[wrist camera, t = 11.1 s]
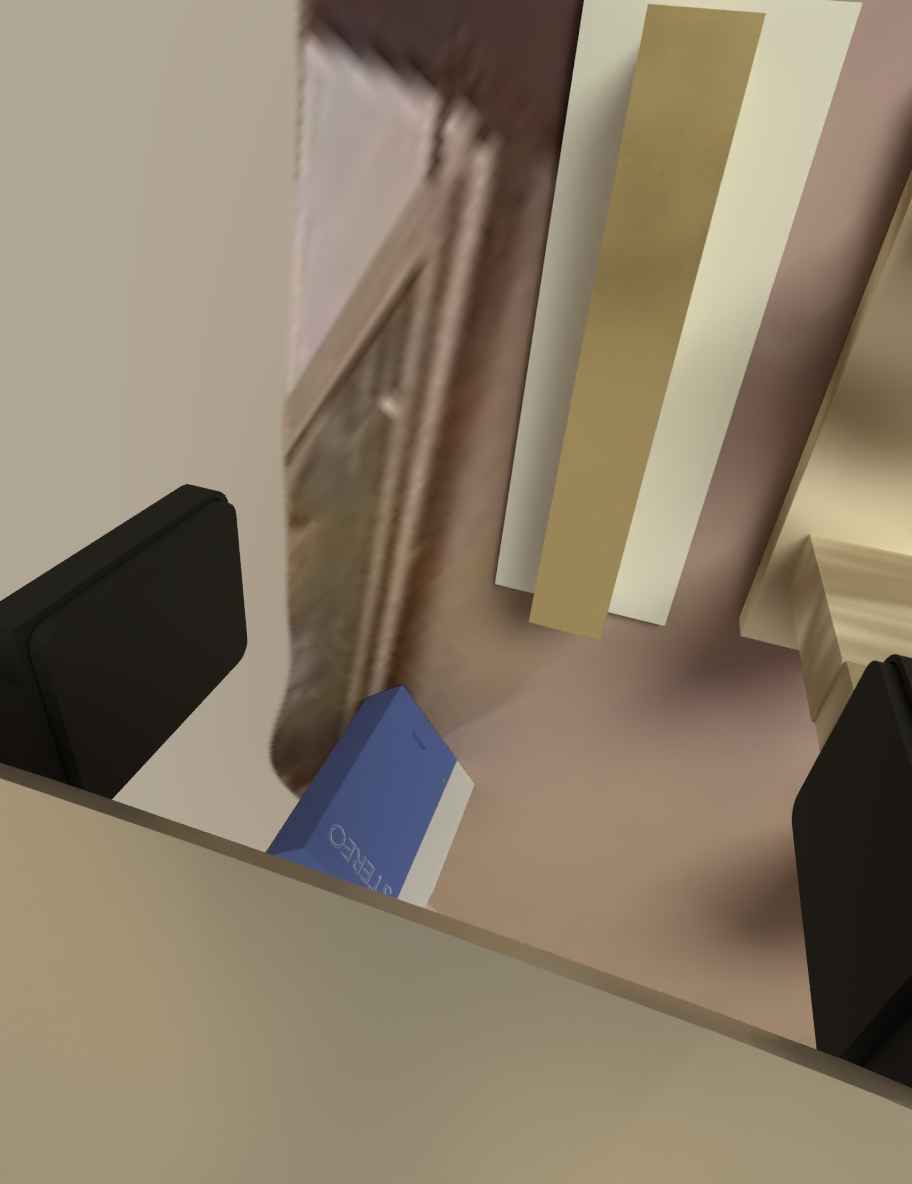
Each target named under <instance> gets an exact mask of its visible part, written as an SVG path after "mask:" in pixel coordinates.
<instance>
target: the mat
mask: <svg viewBox="0 0 912 1184" xmlns="http://www.w3.org/2000/svg"><path fill="white" fill-rule="evenodd" d="M648 4H656V5H669V6H681V7H694V8H707V9H719V10H732V11H745V12H757V13H766V15H765V19H764V23H763V27H762V31H761V34H760V38H759V42H758V46H757V49H756V53H755V57H754V61H753V65H752V68H751V72H750V76H749V80H748V83H747V87H746V91H745V95H744V99H743V102H742V106H741V110H740V114H739V118H738V121H737V125H736V129H735V133H734V136H733V140H732V144H731V148H730V152H729V155H728V159H727V163H726V167H725V171H724V174H723V178H722V182H721V186H720V189H719V193H718V197H717V201H716V205H715V208H714V212H713V216H712V220H711V224H710V227H709V231H708V235H707V239H706V242H705V246H704V250H703V254H702V258H701V261H700V265H699V269H698V273H697V276H696V280H695V284H694V288H693V292H692V295H691V299H690V303H689V307H688V311H687V314H686V318H685V322H684V326H683V329H682V333H681V337H680V341H679V345H678V348H677V352H676V356H675V360H674V364H673V367H672V371H671V375H670V379H669V382H668V386H667V390H666V394H665V398H664V401H663V405H662V409H661V413H660V416H659V420H658V424H657V428H656V432H655V435H654V439H653V443H652V447H651V451H650V454H649V458H648V462H647V466H646V469H645V473H644V477H643V481H642V485H641V488H640V492H639V496H638V500H637V504H636V507H635V511H634V515H633V519H632V522H631V526H630V530H629V534H628V538H627V541H626V545H625V549H624V553H623V557H622V560H621V564H620V568H619V572H618V575H617V579H616V583H615V587H614V591H613V594H612V598H611V602H610V606H609V609H608V612H610V613H614V614H618V615H622V616H626V617H630V618H634V619H638V620H642V621H646V622H650V623H654V624H658V625H662V626H665V623H666V620H667V617H668V614H669V611H670V607H671V604H672V601H673V598H674V595H675V592H676V589H677V585H678V582H679V579H680V576H681V573H682V570H683V567H684V563H685V560H686V557H687V554H688V551H689V548H690V544H691V541H692V538H693V535H694V532H695V529H696V526H697V522H698V519H699V516H700V513H701V510H702V507H703V504H704V500H705V497H706V494H707V491H708V488H709V485H710V481H711V478H712V475H713V472H714V469H715V466H716V463H717V459H718V456H719V453H720V450H721V447H722V444H723V441H724V437H725V434H726V431H727V428H728V425H729V422H730V418H731V415H732V412H733V409H734V406H735V403H736V400H737V396H738V393H739V390H740V387H741V384H742V381H743V377H744V374H745V371H746V368H747V365H748V362H749V359H750V355H751V352H752V349H753V346H754V343H755V340H756V337H757V333H758V330H759V327H760V324H761V321H762V318H763V314H764V311H765V308H766V305H767V302H768V299H769V296H770V292H771V289H772V286H773V283H774V280H775V277H776V274H777V270H778V267H779V264H780V261H781V258H782V255H783V251H784V248H785V245H786V242H787V239H788V236H789V233H790V229H791V226H792V223H793V220H794V217H795V214H796V210H797V207H798V204H799V201H800V198H801V195H802V192H803V188H804V185H805V182H806V179H807V176H808V173H809V170H810V166H811V163H812V160H813V157H814V154H815V151H816V147H817V144H818V141H819V138H820V135H821V132H822V129H823V125H824V122H825V119H826V116H827V113H828V110H829V107H830V103H831V100H832V97H833V94H834V91H835V88H836V84H837V81H838V78H839V75H840V72H841V69H842V66H843V62H844V59H845V56H846V53H847V50H848V47H849V43H850V40H851V37H852V34H853V31H854V28H855V25H856V21H857V18H858V15H859V12H860V9H861V6H862V3H856V2H842V1H828V0H584V5H583V11H582V18H581V24H580V31H579V37H578V44H577V50H576V57H575V64H574V70H573V77H572V83H571V90H570V96H569V103H568V109H567V116H566V122H565V129H564V136H563V142H562V149H561V155H560V162H559V168H558V175H557V181H556V188H555V194H554V201H553V208H552V214H551V221H550V227H549V234H548V240H547V247H546V253H545V260H544V266H543V273H542V280H541V286H540V293H539V299H538V306H537V312H536V319H535V325H534V332H533V338H532V345H531V351H530V358H529V365H528V371H527V378H526V384H525V391H524V397H523V404H522V410H521V417H520V423H519V430H518V437H517V443H516V450H515V456H514V463H513V469H512V476H511V482H510V489H509V495H508V502H507V509H506V515H505V522H504V528H503V535H502V541H501V548H500V554H499V561H498V567H497V574H496V581H495V584H497V585H501V586H505V587H509V588H513V589H517V590H521V591H526V592H530V593H534V592H535V587H536V581H537V576H538V571H539V566H540V561H541V556H542V550H543V545H544V540H545V535H546V530H547V524H548V519H549V514H550V509H551V504H552V498H553V493H554V488H555V483H556V478H557V473H558V467H559V462H560V457H561V452H562V447H563V441H564V436H565V431H566V426H567V421H568V416H569V410H570V405H571V400H572V395H573V390H574V384H575V379H576V374H577V369H578V364H579V359H580V353H581V348H582V343H583V338H584V333H585V327H586V322H587V317H588V312H589V307H590V301H591V296H592V291H593V286H594V281H595V276H596V270H597V265H598V260H599V255H600V250H601V244H602V239H603V234H604V229H605V224H606V219H607V213H608V208H609V203H610V198H611V193H612V187H613V182H614V177H615V172H616V167H617V161H618V156H619V151H620V146H621V141H622V136H623V130H624V125H625V120H626V115H627V110H628V104H629V99H630V94H631V89H632V84H633V79H634V73H635V68H636V63H637V58H638V53H639V47H640V42H641V37H642V32H643V27H644V22H645V16H646V11H647V6H648Z"/></svg>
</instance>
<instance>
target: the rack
mask: <svg viewBox="0 0 912 1184" xmlns="http://www.w3.org/2000/svg"><path fill="white" fill-rule="evenodd" d="M739 621H740V636H743V637H747V638H751V639H755V640H759V641H763V642H767V643H771V644H775V645H779V646H783V647H787V648H791V649H795V650H799V653H800V659H801V664H802V670H803V676H804V681H805V687H806V693H807V698H808V704H809V710H810V715H811V721H812V722H815V725H816V730H817V736H818V741H819V747H820V752H821V750H822V748H823V747H824V745H825V743H826V741H827V739H828V737H829V735H830V734H831V732H832V730H833V728H834V726H835V724H836V722H837V721H838V719H839V717H840V715H841V713H842V711H843V709H844V708H845V706H846V704H847V702H848V700H849V698H850V696H851V695H852V693H853V691H854V689H855V687H856V685H857V683H858V682H859V680H860V678H861V676H862V674H863V672H864V670H865V669H866V667H867V666H868V664H869V663H870V662H871V661H874V660H876V661H880V662H884V661H885V660H886V659H887V658H888V657H889V656H890V655H892V654H898V655H902V656H906V657H910V658H912V169H911V172H910V175H909V177H908V180H907V182H906V185H905V188H904V190H903V193H902V195H901V198H900V201H899V203H898V206H897V208H896V211H895V214H894V216H893V219H892V221H891V224H890V227H889V229H888V232H887V234H886V237H885V240H884V242H883V245H882V247H881V250H880V253H879V255H878V258H877V260H876V263H875V266H874V268H873V271H872V273H871V276H870V279H869V281H868V284H867V286H866V289H865V292H864V294H863V297H862V299H861V302H860V305H859V307H858V310H857V312H856V315H855V318H854V320H853V323H852V326H851V328H850V331H849V333H848V336H847V339H846V341H845V344H844V346H843V349H842V352H841V354H840V357H839V359H838V362H837V365H836V367H835V370H834V372H833V375H832V378H831V380H830V383H829V385H828V388H827V391H826V393H825V396H824V398H823V401H822V404H821V406H820V409H819V411H818V414H817V417H816V419H815V422H814V424H813V427H812V430H811V432H810V435H809V437H808V440H807V443H806V445H805V448H804V450H803V453H802V456H801V458H800V461H799V463H798V466H797V469H796V471H795V474H794V476H793V479H792V482H791V484H790V487H789V490H788V492H787V495H786V497H785V500H784V503H783V505H782V508H781V510H780V513H779V516H778V518H777V521H776V523H775V526H774V529H773V531H772V534H771V536H770V539H769V542H768V544H767V547H766V549H765V552H764V555H763V557H762V560H761V562H760V565H759V568H758V570H757V573H756V575H755V578H754V581H753V583H752V586H751V588H750V591H749V594H748V596H747V599H746V601H745V604H744V607H743V609H742V612H741V614H740V617H739Z"/></svg>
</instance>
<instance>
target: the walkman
mask: <svg viewBox="0 0 912 1184" xmlns="http://www.w3.org/2000/svg"><path fill="white" fill-rule="evenodd" d="M473 787H474V783H473V782H472V780H471V779H470V777H469V776H468V775H467V773H466V772H465V770H464V769H463V768H462V766H461V765H460V763H459V762H458V761H457V760H456V758H455V757H454V756H453V754H452V753H451V751H450V750H449V749H448V747H447V746H446V745H445V743H444V742H443V740H442V739H441V738H440V736H439V735H438V733H437V732H436V731H435V729H434V728H433V726H432V725H431V724H430V722H429V721H428V720H427V718H426V717H425V715H424V714H423V713H422V711H421V710H420V708H419V707H418V706H417V704H416V703H415V702H414V700H413V699H412V697H411V696H410V695H409V693H408V692H407V690H406V689H405V688H404V686H403V685H400V686H397V687H394V688H391V689H389V690H386V691H383V692H381V693H378V694H375V695H372V696H370V697H367V698H366V700H365V701H364V703H363V704H362V706H361V707H360V709H359V710H358V712H357V713H356V715H355V716H354V718H353V719H352V721H351V723H350V724H349V726H348V727H347V729H346V730H345V732H344V733H343V735H342V736H341V738H340V739H339V741H338V742H337V744H336V745H335V747H334V749H333V750H332V752H331V753H330V755H329V756H328V758H327V759H326V761H325V762H324V764H323V765H322V767H321V768H320V770H319V772H318V773H317V775H316V776H315V778H314V779H313V781H312V782H311V784H310V785H309V787H308V788H307V790H306V791H305V793H304V794H303V796H302V798H301V799H300V801H299V802H298V804H297V805H296V807H295V808H294V810H293V811H292V813H291V814H290V816H289V817H288V819H287V821H286V822H285V824H284V825H283V827H282V828H281V830H280V831H279V833H278V834H277V836H276V837H275V839H274V840H273V842H272V844H271V845H270V847H269V848H268V850H267V851H266V853H268V854H271V855H273V856H276V857H279V858H282V859H285V860H288V861H291V862H294V863H296V864H299V865H302V866H305V867H308V868H311V869H314V870H316V871H319V872H322V873H325V874H328V875H331V876H334V877H337V878H339V879H342V880H345V881H348V882H351V883H354V884H357V885H359V886H362V887H365V888H368V889H371V890H374V891H377V892H379V893H382V894H385V895H388V896H391V897H394V898H397V899H399V900H402V901H405V902H408V903H411V904H414V905H417V906H419V907H422V908H425V907H426V904H427V902H428V899H429V897H430V895H432V893H433V890H434V888H435V885H436V882H437V880H438V877H439V875H440V872H441V870H442V867H443V864H444V862H445V859H446V857H447V854H448V851H449V849H450V846H451V844H452V841H453V839H454V836H455V833H456V831H457V828H458V826H459V823H460V820H461V818H462V815H463V813H464V810H465V808H466V805H467V802H468V800H469V797H470V795H471V792H472V790H473Z"/></svg>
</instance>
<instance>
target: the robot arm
mask: <svg viewBox="0 0 912 1184" xmlns="http://www.w3.org/2000/svg"><path fill="white" fill-rule="evenodd" d="M246 646H247V631H246V619H245V608H244V596H243V585H242V574H241V563H240V552H239V539H238V528H237V517H236V511H235V508H234V506H233V505H232V504H230V503H228V500H227V498H226V496H225V495H224V494H223V493H222V492H219V491H215V490H211V489H207V488H202V487H198V486H194V485H188V484H186V485H183V486H181V487H179V488H178V489H176V490H174V491H173V492H171V493H170V494H168V495H167V496H165V497H163V498H162V499H160V500H159V501H157V502H156V503H154V504H153V505H151V506H149V507H148V508H146V509H145V510H143V511H141V512H140V513H138V514H137V515H135V516H134V517H132V518H130V519H129V520H127V521H126V522H124V523H123V524H121V525H120V526H118V527H116V528H115V529H113V530H112V531H110V532H109V533H107V534H105V535H104V536H102V537H101V538H99V539H97V540H96V541H94V542H93V543H91V544H90V545H88V546H86V547H85V548H83V549H82V550H80V551H79V552H77V553H76V554H74V555H72V556H71V557H69V558H68V559H66V560H64V561H63V562H61V563H60V564H58V565H57V566H55V567H53V568H52V569H50V570H49V571H47V572H46V573H44V574H42V575H41V576H39V577H38V578H36V579H35V580H33V581H31V582H30V583H28V584H27V585H25V586H24V587H22V588H20V589H19V590H17V591H16V592H14V593H12V594H11V595H9V596H8V597H6V598H5V599H3V600H1V601H0V1184H912V658H910V657H906V656H902V655H898V654H892V655H890V656H889V657H888V658H887V659H886V660H885V661H884V662H880V661H876V660H874V661H871V662H870V663H869V664H868V666H867V667H866V669H865V670H864V672H863V674H862V676H861V678H860V680H859V682H858V683H857V685H856V687H855V689H854V691H853V693H852V695H851V696H850V698H849V700H848V702H847V704H846V706H845V708H844V709H843V711H842V713H841V715H840V717H839V719H838V721H837V722H836V724H835V726H834V728H833V730H832V732H831V734H830V735H829V737H828V739H827V741H826V743H825V745H824V747H823V748H822V750H821V752H820V754H819V756H818V758H817V760H816V761H815V763H814V765H813V767H812V769H811V771H810V773H809V774H808V776H807V778H806V780H805V782H804V784H803V786H802V787H801V789H800V791H799V793H798V795H797V797H796V799H795V803H794V806H793V812H792V828H793V837H794V846H795V855H796V865H797V874H798V883H799V892H800V901H801V910H802V919H803V928H804V937H805V946H806V956H807V965H808V974H809V983H810V992H811V1001H812V1010H813V1019H814V1028H815V1037H816V1047H817V1050H816V1049H814V1048H811V1047H808V1046H806V1045H803V1044H800V1043H798V1042H795V1041H792V1040H789V1039H787V1038H784V1037H781V1036H779V1035H776V1034H773V1033H771V1032H768V1031H765V1030H763V1029H760V1028H757V1027H755V1026H752V1025H749V1024H747V1023H744V1022H741V1021H738V1020H736V1019H733V1018H730V1017H728V1016H725V1015H722V1014H720V1013H717V1012H714V1011H712V1010H709V1009H706V1008H704V1007H701V1006H698V1005H696V1004H693V1003H690V1002H687V1001H685V1000H682V999H679V998H676V997H673V996H671V995H668V994H665V993H662V992H659V991H657V990H654V989H651V988H648V987H645V986H642V985H640V984H637V983H634V982H631V981H628V980H626V979H623V978H620V977H617V976H614V975H611V974H609V973H606V972H603V971H600V970H597V969H595V968H592V967H589V966H586V965H583V964H581V963H578V962H575V961H572V960H569V959H566V958H564V957H561V956H558V955H555V954H552V953H550V952H547V951H544V950H541V949H538V948H535V947H533V946H530V945H527V944H524V943H521V942H519V941H516V940H513V939H510V938H507V937H505V936H502V935H499V934H496V933H493V932H490V931H488V930H485V929H482V928H479V927H476V926H474V925H471V924H468V923H465V922H462V921H459V920H457V919H454V918H451V917H448V916H445V915H442V914H439V913H437V912H434V911H431V910H428V909H425V908H422V907H419V906H417V905H414V904H411V903H408V902H405V901H402V900H399V899H397V898H394V897H391V896H388V895H385V894H382V893H379V892H377V891H374V890H371V889H368V888H365V887H362V886H359V885H357V884H354V883H351V882H348V881H345V880H342V879H339V878H337V877H334V876H331V875H328V874H325V873H322V872H319V871H316V870H314V869H311V868H308V867H305V866H302V865H299V864H296V863H294V862H291V861H288V860H285V859H282V858H279V857H276V856H273V855H271V854H268V853H265V852H262V851H259V850H256V849H253V848H250V847H247V846H245V845H242V844H239V843H236V842H233V841H230V840H227V839H224V838H221V837H218V836H216V835H212V834H210V833H207V832H204V831H201V830H198V829H195V828H192V827H189V826H187V825H184V824H180V823H178V822H175V821H172V820H169V819H166V818H163V817H160V816H157V815H154V814H152V813H148V812H146V811H143V810H140V809H137V808H134V807H131V806H128V805H125V804H122V803H119V802H117V801H114V800H112V799H113V798H114V797H115V796H116V794H117V793H118V792H119V791H120V790H121V789H122V788H123V787H124V786H125V785H126V784H127V783H128V781H129V780H130V779H131V778H132V777H133V776H134V775H135V774H136V773H137V772H138V771H139V770H140V768H141V767H142V766H143V765H144V764H145V763H146V762H147V761H148V760H149V759H150V758H151V757H152V756H153V754H154V753H155V752H156V751H157V750H158V749H159V748H160V747H161V746H162V744H164V743H165V741H166V740H167V739H168V738H169V737H170V736H171V735H172V734H173V733H174V732H175V731H176V730H177V729H178V727H179V726H180V725H181V724H182V723H183V722H184V721H185V720H186V719H187V718H188V717H189V716H190V715H191V713H192V712H193V711H194V710H195V709H196V708H197V707H198V706H199V705H200V704H201V703H202V701H203V700H204V699H205V698H206V697H207V696H208V695H209V694H210V693H211V692H212V691H213V690H214V688H215V687H216V686H217V685H218V684H219V683H220V682H221V681H222V680H223V679H224V678H225V677H226V676H227V675H228V673H229V672H230V671H231V670H232V669H233V668H234V667H235V666H236V665H237V664H238V663H239V661H240V660H241V659H242V657H243V655H244V653H245V650H246Z"/></svg>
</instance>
